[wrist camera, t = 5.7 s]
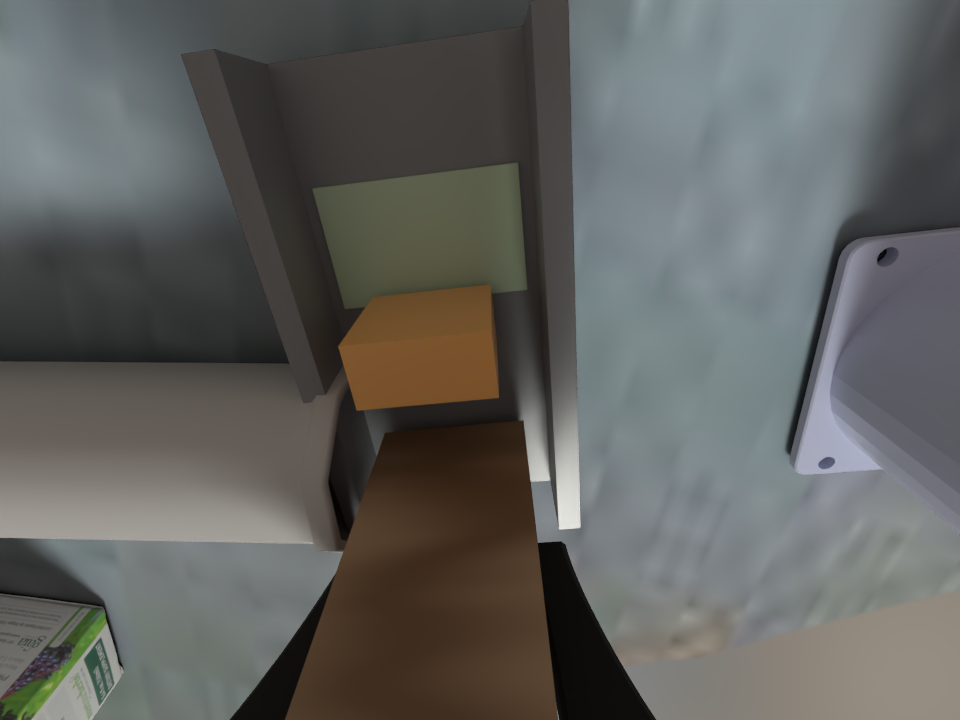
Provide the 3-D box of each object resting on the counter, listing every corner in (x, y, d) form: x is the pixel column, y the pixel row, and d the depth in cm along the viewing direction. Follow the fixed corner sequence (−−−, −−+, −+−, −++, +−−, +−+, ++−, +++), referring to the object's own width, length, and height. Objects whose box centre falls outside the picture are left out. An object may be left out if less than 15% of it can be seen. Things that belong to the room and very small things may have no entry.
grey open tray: (261, 77, 11) (169, 55, 8) (553, 34, 10) (580, -7, 7) (373, 464, 16) (346, 544, 13) (568, 448, 16) (587, 527, 13)
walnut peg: (523, 420, 13) (566, 794, 6) (533, 522, 14) (574, 903, 7) (384, 432, 13) (256, 801, 6) (411, 531, 15) (337, 906, 8)
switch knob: (372, 297, 11) (338, 346, 9) (490, 284, 11) (491, 331, 9) (385, 350, 12) (356, 410, 9) (497, 339, 12) (499, 398, 9)
